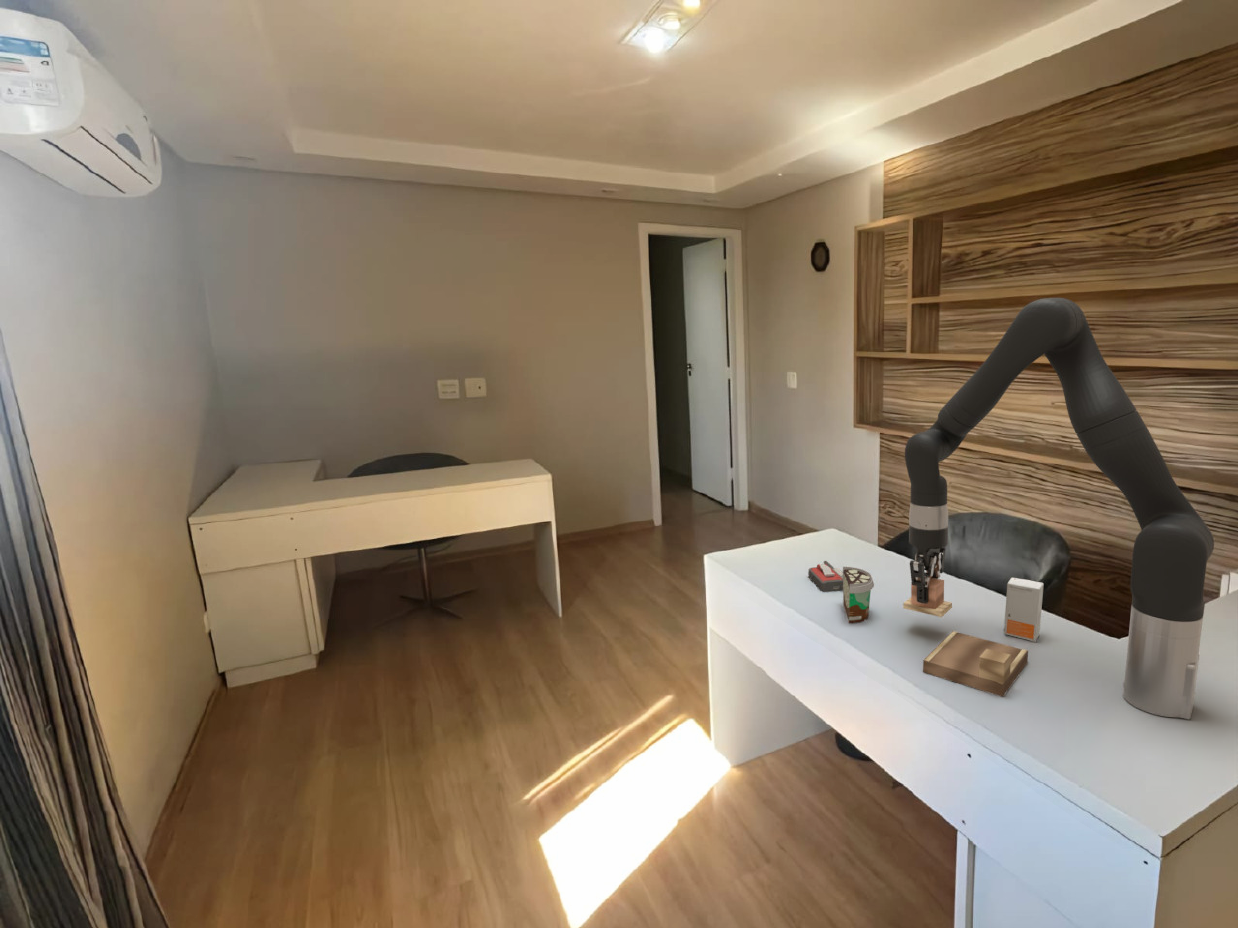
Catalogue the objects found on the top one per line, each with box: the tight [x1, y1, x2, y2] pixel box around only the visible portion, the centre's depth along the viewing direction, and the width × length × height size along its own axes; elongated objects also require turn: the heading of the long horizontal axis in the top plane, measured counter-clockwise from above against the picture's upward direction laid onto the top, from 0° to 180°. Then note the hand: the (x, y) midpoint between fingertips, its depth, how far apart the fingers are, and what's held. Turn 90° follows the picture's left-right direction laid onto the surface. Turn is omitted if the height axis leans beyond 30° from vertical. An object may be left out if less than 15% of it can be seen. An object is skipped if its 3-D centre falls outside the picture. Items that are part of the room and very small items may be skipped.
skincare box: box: [1003, 577, 1045, 643], centre depth 137 cm, size 6×4×12 cm
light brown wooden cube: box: [979, 649, 1011, 684], centre depth 118 cm, size 4×4×4 cm
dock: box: [922, 630, 1029, 698], centre depth 127 cm, size 14×16×3 cm
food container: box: [842, 566, 875, 624], centre depth 152 cm, size 12×6×10 cm, turn 168°
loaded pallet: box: [902, 577, 953, 618], centre depth 140 cm, size 8×6×6 cm
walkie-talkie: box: [807, 560, 843, 593], centre depth 175 cm, size 9×4×20 cm
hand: (927, 597), depth 140 cm, fingers closed on loaded pallet, 5 cm apart
